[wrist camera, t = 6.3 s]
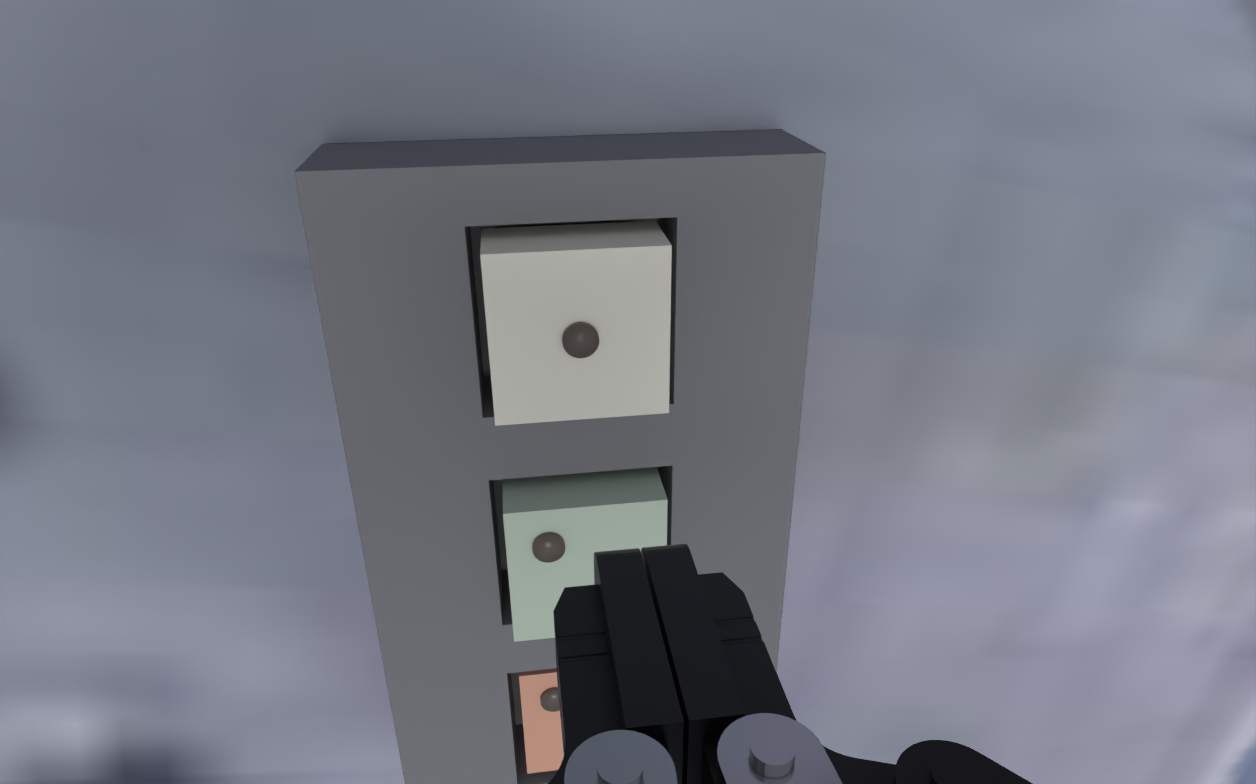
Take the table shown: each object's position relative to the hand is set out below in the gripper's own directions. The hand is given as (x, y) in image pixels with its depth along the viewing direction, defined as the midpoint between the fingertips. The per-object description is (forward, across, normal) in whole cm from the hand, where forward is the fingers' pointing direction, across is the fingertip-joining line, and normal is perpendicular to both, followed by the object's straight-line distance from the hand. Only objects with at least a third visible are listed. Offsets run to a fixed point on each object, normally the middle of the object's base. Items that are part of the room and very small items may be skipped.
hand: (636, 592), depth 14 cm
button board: (+16, 0, +8) cm, 18 cm away
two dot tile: (+13, 0, +8) cm, 15 cm away
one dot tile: (+13, 0, 0) cm, 13 cm away
